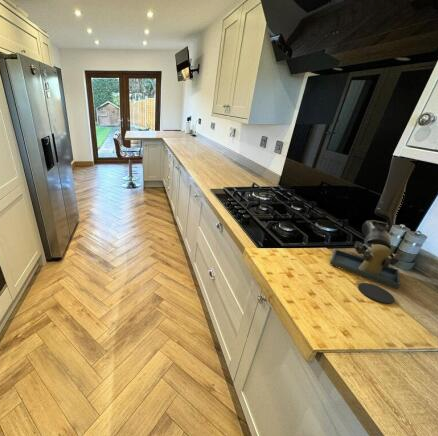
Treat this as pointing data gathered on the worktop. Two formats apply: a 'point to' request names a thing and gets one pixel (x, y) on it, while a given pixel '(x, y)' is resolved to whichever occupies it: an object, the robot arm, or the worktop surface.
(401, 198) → the robot arm
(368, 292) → the coaster
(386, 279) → the tray
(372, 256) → the cork
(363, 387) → the worktop surface
